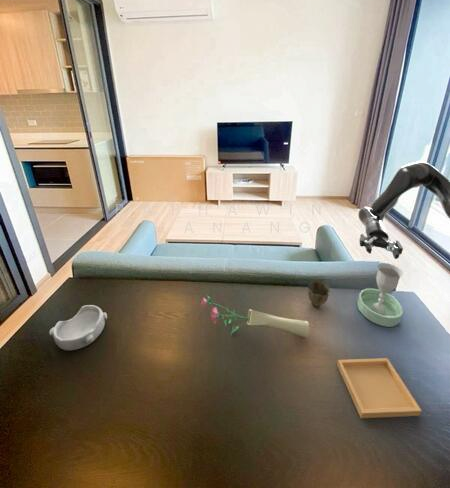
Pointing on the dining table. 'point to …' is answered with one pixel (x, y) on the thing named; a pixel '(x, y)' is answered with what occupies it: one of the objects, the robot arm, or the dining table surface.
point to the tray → (377, 388)
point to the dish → (79, 328)
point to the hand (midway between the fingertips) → (383, 254)
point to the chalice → (385, 284)
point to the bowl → (390, 304)
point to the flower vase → (263, 320)
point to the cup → (317, 293)
